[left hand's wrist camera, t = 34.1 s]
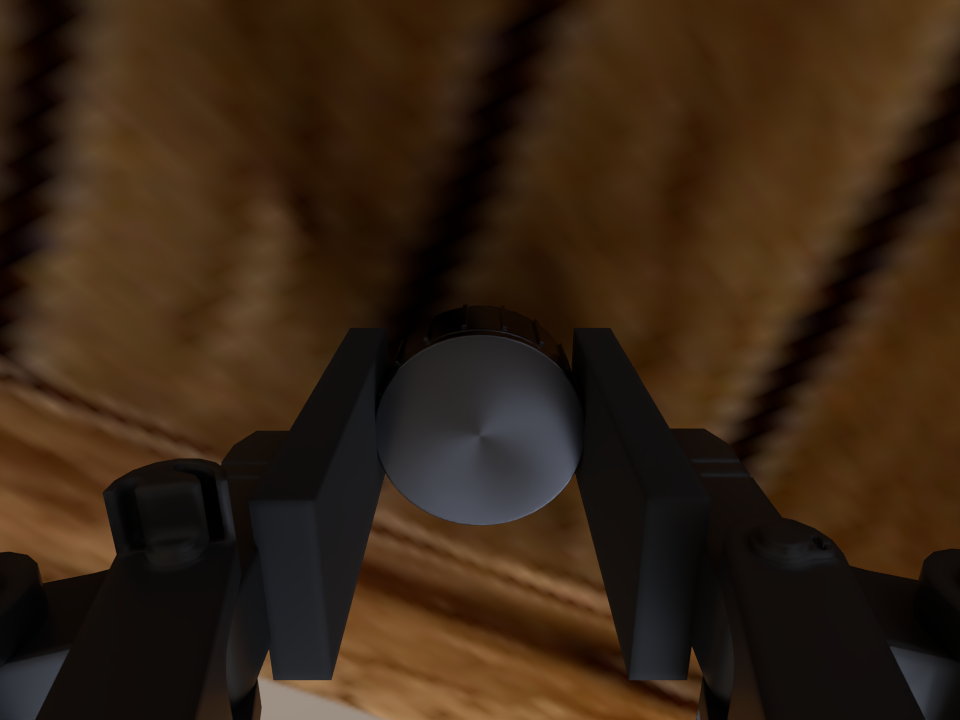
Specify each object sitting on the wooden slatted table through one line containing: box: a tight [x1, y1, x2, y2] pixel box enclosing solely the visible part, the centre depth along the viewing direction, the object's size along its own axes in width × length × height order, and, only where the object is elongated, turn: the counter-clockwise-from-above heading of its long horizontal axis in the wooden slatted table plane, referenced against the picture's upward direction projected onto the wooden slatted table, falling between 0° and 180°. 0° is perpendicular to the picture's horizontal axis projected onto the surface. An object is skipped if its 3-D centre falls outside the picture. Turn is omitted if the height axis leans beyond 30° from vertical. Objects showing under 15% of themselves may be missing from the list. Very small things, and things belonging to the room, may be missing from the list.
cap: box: [375, 304, 585, 525], centre depth 13 cm, size 4×4×2 cm
